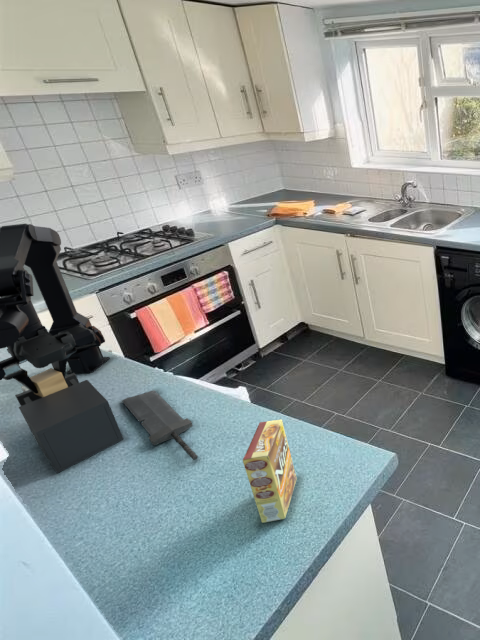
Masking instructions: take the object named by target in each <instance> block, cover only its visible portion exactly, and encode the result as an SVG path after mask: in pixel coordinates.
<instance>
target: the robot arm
mask: <svg viewBox="0 0 480 640" xmlns="http://www.w3.org/2000/svg"><path fill="white" fill-rule="evenodd" d="M61 246H62V240H61V236H60V234H59V233H58V231H56V230H55V229H53V228H51V227H47V226H46V227H45V226H38V225H33V224H32V223H18V224H8V225H2V226H0V349H1V350H2V349H5V348H6V351H7V353H8V354H10V356H11V357H7V358H5V359H3V360H0V381H2V380H5V381H9V380H15V381H16V382H18V383H19V384H21V385H22V386H25V387H26V388H28V389H29V390H31V391H32V392H33V393H35V394H37V393H38V390H37V388H36V386H35V385H34V383H33V382H32V380H31V379H30V376H29V374H28V370H26V369H23V368H22V367H21V366H20V365H21V364H24V363H26V362H28V363H29V364H31V365H32V366H33V367H34V368H35V369H44V368H46V367H49V365H51V367H52V369H54V370H56V371H59V372H61V373H62V375H63V377H64V379H65V376H66V374H67V375H69V374H72V373H75V374H84V373H85V374H86V373H94V372H95V371H97V370H98V369H99V368H100V367H102V366H103V365H104V364H105V363H107V362H108V361H109V360H111V357H110V356H103V353H102V350H101V348H100V347H101V346H102V344H105V343H106V339H105V337H104V335H103V333H102V331H101V329H98V328H97V327H96V326H95V325H92V323H91V320H90V318H88V317H86V316H85V315H83V314H81V313H79V312H78V311H77V309H76V307H75V304H74V301H73V299H72V296H71V294H70V292H69V288H68V286H67V284H66V281H65V278H64V277H63V274H62V272H61V269H60V267H59V264H58V262H57V260H58V258H59V256H60V252H61V251H62V247H61ZM24 266H26V267H27V268H29V269H30V270H31V272H32V274H30V273H29V271H28V270H27V269H25V267H24ZM32 275H33V276H32ZM33 278H34V279H35V282H36V284H37V286H38V289H39V291H40V294H41V296H42V299H43V300H44V303H45V305H46V307H47V310H48V312H49V314H50V317H51V320H52V323H51V326H50V328H49V330H48V329H47V327H46V326H45V325H43V323H42V321H41V319H40V317H39V314H38V313H37V311H36V308H35V306H34V305H33V302H32V297H34V295H35V294H34V281H33ZM67 365H68V367H69V369H68V370H67ZM66 370H67V371H66Z"/></svg>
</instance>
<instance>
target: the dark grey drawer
mask: <svg viewBox="0 0 480 640" xmlns="http://www.w3.org/2000/svg"><path fill="white" fill-rule="evenodd" d="M65 382H66V384H67V386H68V387H70V386H72V385H75V384H77V383H80V381H79V379H78V377H77V373H72V374H67V375H65ZM20 387H21V390H22V392H20V393H17V394H15V395H14V396H15V398H16V400H17V402H18V404H19V407H20V406H23V405H25V404H28V403H30V402H33V401H35V400H37V399H40V398H42V397H40V396H38V395H36V394H34V393H33V392H32V391H31V390H29V389H28V388H26V387H25V386H24V385H22V386H20Z"/></svg>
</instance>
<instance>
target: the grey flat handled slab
mask: <svg viewBox="0 0 480 640" xmlns="http://www.w3.org/2000/svg"><path fill="white" fill-rule="evenodd" d="M121 402H122V403H123V405H125V407H126V408H127V409H128V411H130V413H131V414H132V415H133V416H134V417H135V419H136V420H137V421H138V422H139V423H140V425H141V426H142V428H144V429H145V431H146V432H147V433H148V434H149V435H150V436H148V440H149V442H150V443H151V445H153V446H156V445H159V444H161V443H163V442H167V441H169V440H172V439H174V441H175V442H176V443H177V444H178V445H179V446H180V448H182V449H183V451H184V452H185V453H186V454H187V455H188V456H189V457H190V458H191V460H192V461H196V460H197V459H198V458H199V456H198V455H197V454H196V452H195V451H193V449H192V448H191V447H190V446H189V445H188V444H187V443H186V441H184V440H183V439H182V438H181V436H180V435H181V434H182V433H184V432H185V431H187V430H188V429H190V428H192V427H193V422H192V421H191V420H190V419H189V418H188V417H187V418H182V417H181V416H180V414H179V413H178V412H177V411H175V409H174V408H173V407H172V406H171V405H170V404H169V403H168V402H167V401H166V400H165V399H164V398H163V397H162V396H161V395H160V394H159V393H158V392H157V391H156V390H149V391H147V392H144V393H142V394H137V395H133V396H130V397H129V396H128V397H126V398H124V399H122V400H121Z"/></svg>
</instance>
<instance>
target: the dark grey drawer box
mask: <svg viewBox="0 0 480 640" xmlns="http://www.w3.org/2000/svg"><path fill="white" fill-rule="evenodd" d="M18 409H19V411H20V413H21V415H22V417H23V419H24V420H25V423H26V424H27V426H28V428H29V430H30V432H31V434H32V436H33V438H34V440H35V441H36V444H37V445H38V447H39V448H40V450H41V452H42V454H43V455H44V456H45V458H46V459H47V461H48V463H49V464H50V466H51V467H52V468H53V471H55V473H56V474H59V473H61V472H63V471H65V470H67V469H69V468H71V467H73V466H75V465H76V464H78V463H80V462H82V461H84V460H87V459H88V458H90V457H92V456H94V455H96V454H98V453H100V452H102V451H104V450H106V449H108V448H110V447H112V446H114V445H116V444H117V443H120V442H121V441H124V440H125V438H124V436H123V434H122V431H121V429H120V427H119V425H118V421H117V420H116V417H115V415H114V412H113V410H112V408H111V406H110V402H109V401H108V400H107V399H106V398H105V397H104V395H102V393H101V392H100V391H99V390H98V389H97V388H96V387H95V386H94V385H93V384H92V383H91V382H90V381H89V380H88V379H85V380H83V381H79V383H77V384H75V385H72V386H70V387H67V388H65V389H62V390H60V391H57V392H55V393H52V394H50V395H47V396H45V397H42V398H40V399H37V400H35V401H33V402H30V403H28V404H25V405H23V406H20V405H19V406H18Z"/></svg>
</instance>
